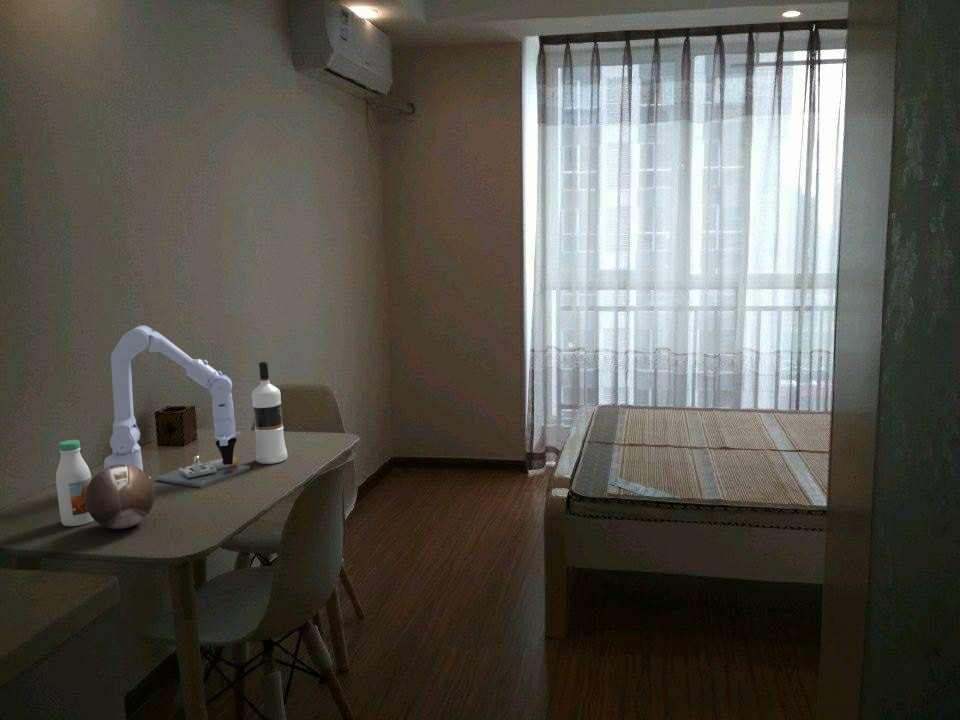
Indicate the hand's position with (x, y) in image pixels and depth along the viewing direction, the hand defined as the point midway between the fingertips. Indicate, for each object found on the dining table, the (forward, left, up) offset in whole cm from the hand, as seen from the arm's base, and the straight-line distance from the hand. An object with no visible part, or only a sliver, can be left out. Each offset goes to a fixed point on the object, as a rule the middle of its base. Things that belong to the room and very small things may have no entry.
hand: (228, 464), depth 234 cm
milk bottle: (-45, +4, -2) cm, 45 cm away
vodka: (+13, -4, -2) cm, 14 cm away
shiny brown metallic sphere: (-43, -10, -2) cm, 44 cm away
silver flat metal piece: (-3, +4, -1) cm, 5 cm away
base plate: (-5, +5, -2) cm, 7 cm away
